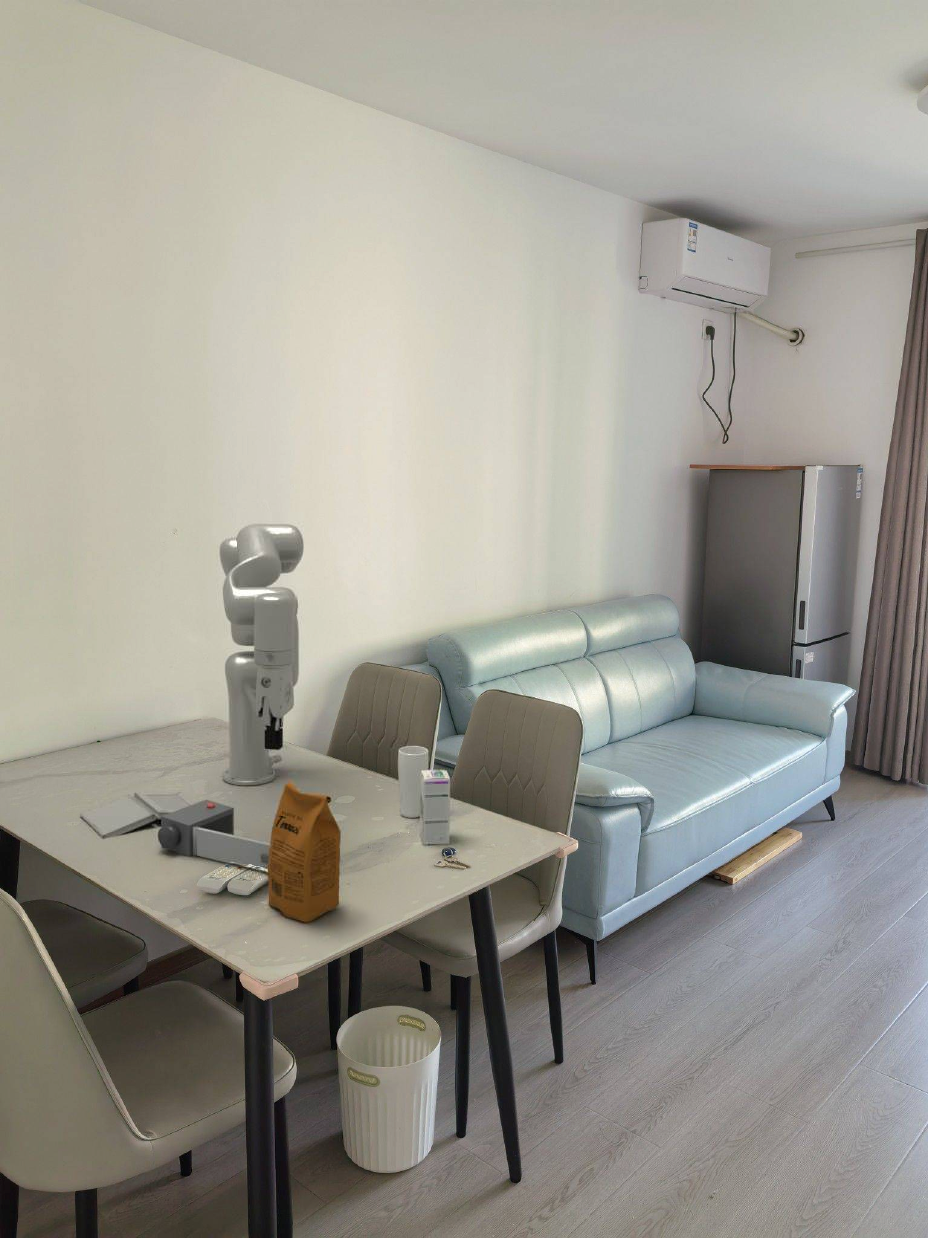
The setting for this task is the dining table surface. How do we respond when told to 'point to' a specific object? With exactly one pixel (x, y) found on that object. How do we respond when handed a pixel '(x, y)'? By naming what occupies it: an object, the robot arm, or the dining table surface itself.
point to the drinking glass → (411, 778)
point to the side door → (230, 848)
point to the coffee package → (304, 856)
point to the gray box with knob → (194, 824)
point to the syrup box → (435, 807)
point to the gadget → (133, 812)
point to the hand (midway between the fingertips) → (273, 748)
